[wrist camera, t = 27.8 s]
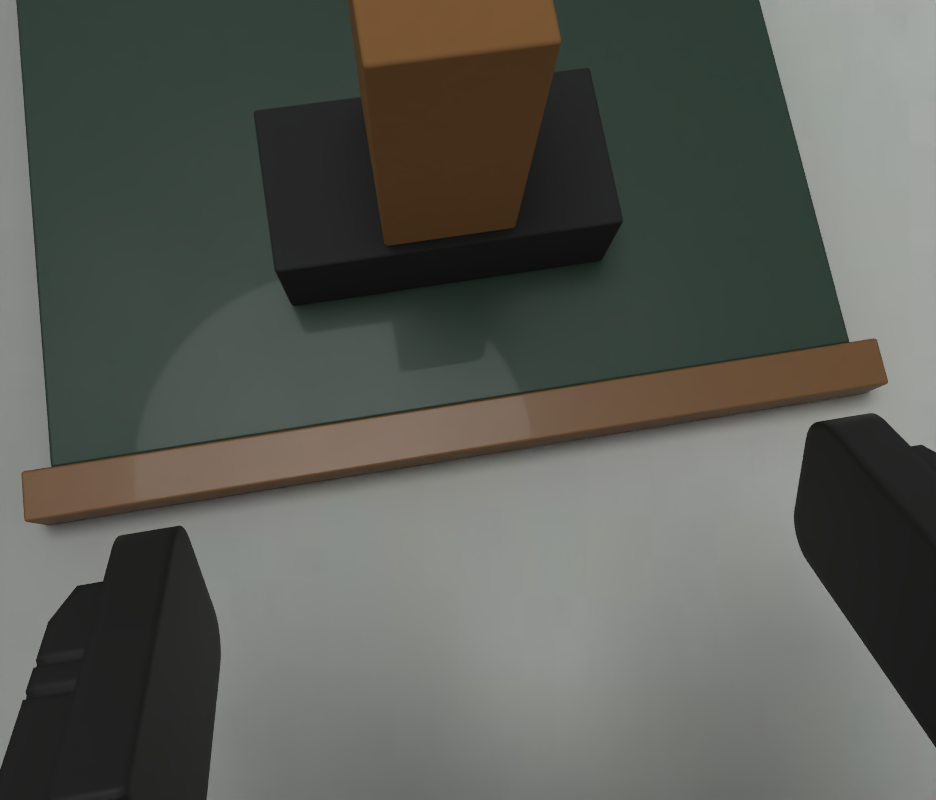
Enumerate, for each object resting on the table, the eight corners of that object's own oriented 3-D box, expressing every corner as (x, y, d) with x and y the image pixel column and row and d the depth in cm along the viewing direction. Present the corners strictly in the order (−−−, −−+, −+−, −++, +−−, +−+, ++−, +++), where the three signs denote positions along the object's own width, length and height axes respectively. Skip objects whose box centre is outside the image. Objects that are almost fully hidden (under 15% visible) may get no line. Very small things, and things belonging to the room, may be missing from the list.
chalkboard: (45, 525, 21) (23, 522, 20) (1, -78, 25) (-20, -111, 24) (866, 393, 23) (890, 383, 22) (720, -155, 26) (734, -189, 25)
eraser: (291, 307, 22) (191, 101, 12) (271, 160, 23) (162, -136, 13) (603, 261, 22) (727, 33, 13) (572, 120, 23) (671, -189, 14)
